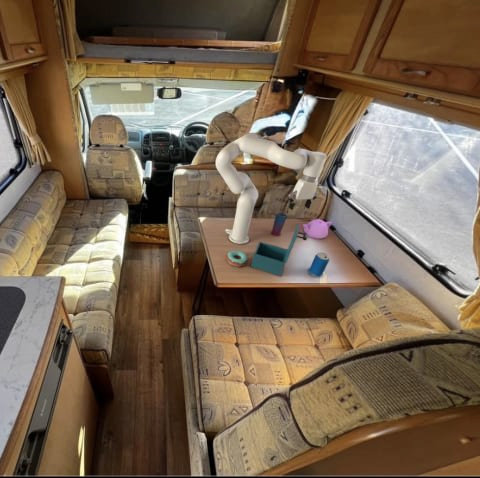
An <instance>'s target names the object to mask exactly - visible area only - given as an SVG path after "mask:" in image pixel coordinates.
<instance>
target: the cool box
mask: <svg viewBox="0 0 480 478" xmlns="http://www.w3.org/2000/svg"><path fill="white" fill-rule="evenodd" d="M287 250H288V248H284V247H280V246H278V245H274V244H270V243H266V242H263V241H259V242H258V244H257V246H256V249H255V251H254V253H253V257H252V260H251V264H250V268H254V269H256V270H260V271H263V272H266V273H269V274H272V275H275V276H279V277H281V276H282V273H283V270H284V267H285V264H286V263H285V259H286V255H287Z"/></svg>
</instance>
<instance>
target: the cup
mask: <svg viewBox="0 0 480 478" xmlns="http://www.w3.org/2000/svg"><path fill="white" fill-rule="evenodd" d="M288 216H289V214H288V213H287V212H285V211H282V210H281V211H280V210H278V211H276V212H275V217H274V221H273V226H272V230H271V235H273V236H276V237H278V236H279V237H280V235H281V233H282V230H283V227H284V225H285V223H286V220H287V218H288Z"/></svg>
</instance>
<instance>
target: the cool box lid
mask: <svg viewBox="0 0 480 478" xmlns="http://www.w3.org/2000/svg"><path fill="white" fill-rule="evenodd" d="M299 229H300V223H297V225H296V227H295V230H294V232H293V234H292V235H293V236H292V237H291V240H290V243H289V245H288V248H287V249H288V250H287V255H286V259H285V264H287V262H288V260H289V257H290V255H291V253H292V250H293V248H294V245H295V242H296V240H297V239H298V238H299V239H301V240H303V241H308V234H307V233H306V232H305V231H304V232H301V231H299ZM298 234H300V235H298ZM301 235H302V236H301Z"/></svg>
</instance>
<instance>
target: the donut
mask: <svg viewBox="0 0 480 478" xmlns="http://www.w3.org/2000/svg"><path fill="white" fill-rule="evenodd" d="M226 262H228V263H229V264H230V265H231V266H234V267H238V268H240V267H244V266H246V265H247V264H248V262H249V258H248V255H247V254H246V253H244V252H243V251H241V250H230V251H229V252H228V253H226Z"/></svg>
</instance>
